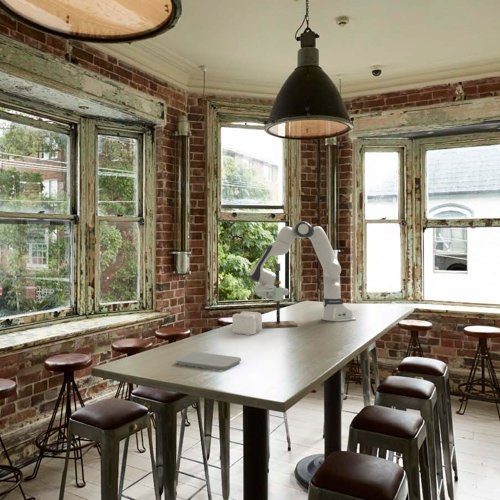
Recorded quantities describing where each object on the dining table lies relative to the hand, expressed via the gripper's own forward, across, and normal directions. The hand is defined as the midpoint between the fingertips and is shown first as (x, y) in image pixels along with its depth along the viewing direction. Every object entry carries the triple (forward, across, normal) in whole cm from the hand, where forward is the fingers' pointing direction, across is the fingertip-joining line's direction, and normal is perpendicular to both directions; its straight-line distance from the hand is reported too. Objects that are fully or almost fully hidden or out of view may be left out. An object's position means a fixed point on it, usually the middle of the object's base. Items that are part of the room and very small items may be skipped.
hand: (278, 294), depth 282 cm
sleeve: (-1, 0, +4) cm, 4 cm away
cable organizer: (+11, -26, +20) cm, 35 cm away
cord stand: (-1, 0, +20) cm, 20 cm away
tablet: (+62, -67, +20) cm, 93 cm away
